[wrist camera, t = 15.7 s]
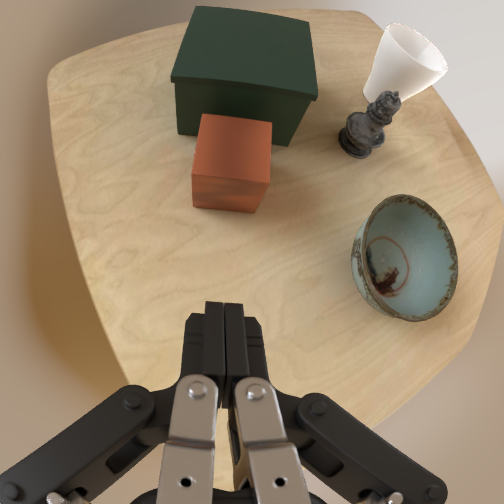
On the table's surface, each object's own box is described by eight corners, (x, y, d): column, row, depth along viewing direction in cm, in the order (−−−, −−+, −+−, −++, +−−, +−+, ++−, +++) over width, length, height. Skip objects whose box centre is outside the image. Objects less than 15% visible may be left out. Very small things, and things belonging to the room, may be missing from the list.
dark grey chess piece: (332, 123, 40) (369, 68, 28) (367, 128, 41) (408, 79, 29) (341, 158, 39) (385, 106, 27) (377, 161, 40) (425, 116, 28)
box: (174, 136, 35) (170, 76, 25) (193, 61, 39) (195, 5, 28) (290, 149, 37) (318, 95, 27) (288, 73, 41) (308, 21, 30)
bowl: (378, 347, 34) (419, 350, 26) (306, 267, 34) (336, 250, 27) (432, 271, 37) (472, 259, 30) (372, 198, 38) (406, 172, 30)
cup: (338, 85, 42) (374, 26, 29) (371, 70, 45) (405, 20, 32) (385, 132, 41) (434, 80, 28) (412, 111, 44) (456, 66, 31)
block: (192, 206, 34) (191, 174, 26) (200, 153, 35) (202, 113, 28) (254, 213, 35) (269, 183, 27) (258, 160, 36) (272, 122, 29)
